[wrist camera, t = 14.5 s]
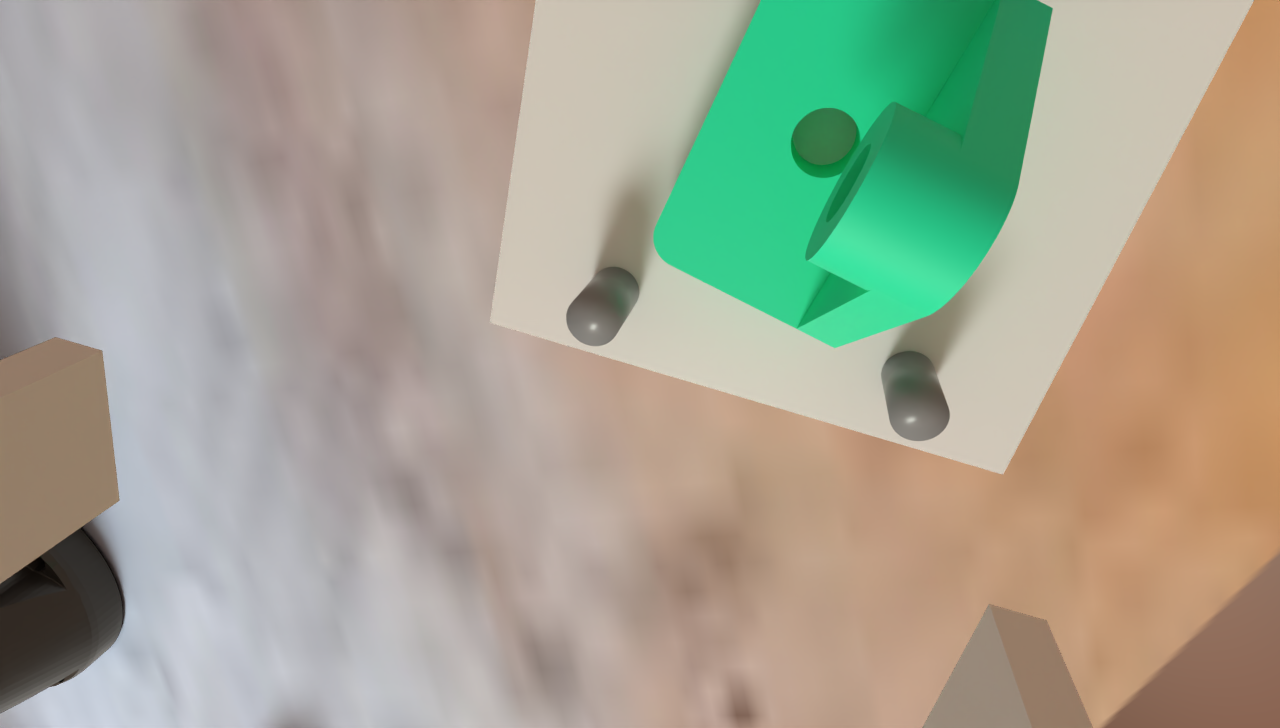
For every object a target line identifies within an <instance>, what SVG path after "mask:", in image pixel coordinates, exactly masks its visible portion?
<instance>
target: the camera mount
mask: <svg viewBox="0 0 1280 728" xmlns="http://www.w3.org/2000/svg"><path fill="white" fill-rule="evenodd" d="M1052 11H1053V8H1052V7H1050V6H1048V5H1046V4H1044V3H1042V2H1040V1H1038V0H761V1H760V3H759V5H758V8H757V10H756V12H755V14H754V16H753V18H752V20H751V23H750V25H749V27H748V29H747V31H746V33H745V35H744V38H743V40H742V42H741V44H740V46H739V48H738V50H737V53H736V55H735V57H734V59H733V61H732V63H731V65H730V68H729V70H728V72H727V74H726V76H725V78H724V80H723V82H722V85H721V87H720V89H719V91H718V93H717V95H716V97H715V100H714V102H713V104H712V106H711V108H710V110H709V112H708V115H707V117H706V119H705V121H704V123H703V125H702V127H701V130H700V132H699V134H698V136H697V138H696V140H695V142H694V145H693V147H692V149H691V151H690V153H689V155H688V157H687V160H686V162H685V164H684V166H683V168H682V170H681V172H680V175H679V177H678V179H677V181H676V183H675V185H674V187H673V190H672V192H671V194H670V196H669V198H668V200H667V202H666V205H665V207H664V209H663V211H662V213H661V215H660V217H659V220H658V222H657V224H656V226H655V229H654V234H653V241H654V246H655V249H656V251H657V253H658V255H659V256H660V257H661V258H662V260H664V261H665V262H666V263H667V264H669V265H671V266H673V267H675V268H677V269H679V270H681V271H683V272H685V273H687V274H689V275H690V276H692V277H694V278H696V279H698V280H700V281H702V282H704V283H706V284H708V285H710V286H712V287H714V288H716V289H718V290H720V291H722V292H724V293H726V294H728V295H730V296H732V297H734V298H736V299H738V300H740V301H742V302H744V303H746V304H748V305H750V306H752V307H754V308H756V309H758V310H760V311H762V312H764V313H766V314H768V315H770V316H772V317H774V318H776V319H778V320H780V321H782V322H784V323H786V324H788V325H790V326H792V327H794V328H796V329H798V330H800V331H802V332H804V333H806V334H808V335H810V336H812V337H813V338H815V339H817V340H819V341H821V342H823V343H825V344H827V345H829V346H831V347H833V348H837V347H840V346H843V345H845V344H848V343H851V342H854V341H857V340H860V339H863V338H866V337H869V336H871V335H874V334H877V333H880V332H883V331H886V330H889V329H892V328H895V327H897V326H900V325H903V324H906V323H909V322H912V321H915V320H918V319H921V318H923V317H926V316H929V315H931V314H933V313H934V312H936V311H938V310H939V309H940V308H941V307H943V306H944V305H945V304H946V303H947V302H948V301H949V300H950V299H952V298H953V297H954V296H955V294H956V293H957V292H958V291H959V290H960V289H961V288H962V287H963V286H964V284H965V283H966V282H967V281H968V279H969V278H970V277H971V276H972V274H973V273H974V272H975V270H976V269H977V268H978V266H979V265H980V263H981V262H982V260H983V259H984V257H985V256H986V254H987V253H988V251H989V250H990V248H991V247H992V245H993V243H994V241H995V240H996V238H997V236H998V234H999V233H1000V231H1001V229H1002V227H1003V225H1004V223H1005V221H1006V219H1007V217H1008V214H1009V212H1010V210H1011V207H1012V205H1013V202H1014V199H1015V196H1016V193H1017V190H1018V186H1019V181H1020V176H1021V170H1022V165H1023V160H1024V155H1025V150H1026V145H1027V140H1028V134H1029V129H1030V124H1031V119H1032V114H1033V109H1034V103H1035V98H1036V93H1037V88H1038V83H1039V78H1040V73H1041V67H1042V62H1043V57H1044V52H1045V47H1046V42H1047V37H1048V31H1049V26H1050V21H1051V16H1052ZM821 108H835V109H839V110H841V111H843V112H845V113H847V114H848V115H849V116H850V117H852V119H853V120H854V121H855V123H856V138H855V141H854V144H853V146H852V148H851V149H850V151H849V152H848V153H847V154H846V155H845V156H844V157H843V158H842V159H840V160H838V161H836V162H834V163H831V164H827V165H817V164H813V163H810V162H808V161H806V160H805V159H804V158H802V157H801V156H800V155H799V153H798V152H797V150H796V148H795V146H794V143H793V136H792V134H793V131H794V129H795V127H796V126H797V124H798V123H799V122H800V120H801V119H802V118H803V117H805V116H806V115H807V114H809V113H810V112H812V111H815V110H817V109H821Z"/></svg>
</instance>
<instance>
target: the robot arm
mask: <svg viewBox="0 0 1280 728" xmlns="http://www.w3.org/2000/svg"><path fill="white" fill-rule="evenodd" d="M118 501H119V492H118V483H117V474H116V466H115V457H114V448H113V440H112V431H111V422H110V414H109V405H108V396H107V388H106V379H105V370H104V362H103V353H102V350H98V349H95V348H91V347H88V346H84V345H81V344H77V343H74V342H70V341H67V340H63V339H60V338H56V337H55V338H53V339H50V340H48V341H45V342H43V343H40V344H38V345H36V346H33V347H31V348H28V349H26V350H24V351H21V352H19V353H16V354H14V355H12V356H9V357H7V358H4V359H2V360H0V713H2V712H4V711H6V710H8V709H10V708H12V707H14V706H16V705H18V704H20V703H21V702H23V701H25V700H27V699H29V698H31V697H32V696H34V695H36V694H38V693H40V692H41V691H43V690H45V689H47V688H48V687H52V686H56V685H59V684H61V683H63V682H65V681H68V680H70V679H72V678H74V677H75V676H77V675H78V674H80V673H81V672H83V671H84V670H85V669H86V668H87V667H89V666H90V665H91V664H92V663H93V662H94V661H95V660H96V659H98V658H99V657H100V656H101V655H102V654H103V653H104V652H106V651H107V650H108V649H109V648H110V647H111V646H112V645H113V644H114V642H115V641H116V639H117V637H118V636H119V633H120V630H121V626H122V620H123V610H122V602H121V597H120V593H119V590H118V587H117V584H116V581H115V579H114V577H113V575H112V572H111V570H110V569H109V567H108V565H107V563H106V561H105V560H104V558H103V557H102V555H101V554H100V552H99V551H98V549H97V548H96V547H95V545H94V544H93V543H92V541H91V540H90V539H89V538H88V537H87V535H86V534H85V533H84V532H83V531H82V530H81V529H80V528H81V527H82V526H84V525H85V524H86V523H88V522H89V521H91V520H92V519H94V518H95V517H96V516H98V515H99V514H101V513H102V512H104V511H105V510H106V509H108V508H109V507H111V506H112V505H114V504H115V503H117V502H118ZM922 728H1093V726H1092V724H1091V722H1090V719H1089V717H1088V715H1087V713H1086V710H1085V708H1084V706H1083V703H1082V701H1081V699H1080V696H1079V694H1078V692H1077V690H1076V687H1075V685H1074V683H1073V680H1072V678H1071V676H1070V673H1069V671H1068V669H1067V666H1066V664H1065V662H1064V660H1063V657H1062V655H1061V653H1060V650H1059V648H1058V646H1057V643H1056V641H1055V639H1054V637H1053V634H1052V632H1051V630H1050V627H1049V625H1048V623H1047V620H1043V619H1040V618H1036V617H1033V616H1029V615H1026V614H1022V613H1019V612H1015V611H1012V610H1008V609H1005V608H1001V607H998V606H994V605H991V604H989V605H988V607H987V609H986V611H985V613H984V615H983V616H982V618H981V620H980V622H979V624H978V626H977V628H976V629H975V631H974V633H973V635H972V637H971V639H970V640H969V642H968V644H967V646H966V648H965V650H964V652H963V653H962V655H961V657H960V659H959V661H958V663H957V664H956V666H955V668H954V670H953V672H952V674H951V676H950V677H949V679H948V681H947V683H946V685H945V687H944V688H943V690H942V692H941V694H940V696H939V698H938V700H937V701H936V703H935V705H934V707H933V709H932V711H931V713H930V714H929V716H928V718H927V720H926V722H925V724H924V725H923V727H922Z"/></svg>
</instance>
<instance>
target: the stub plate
mask: <svg viewBox="0 0 1280 728" xmlns="http://www.w3.org/2000/svg"><path fill="white" fill-rule="evenodd" d="M760 1H761V0H536V3H535V10H534V17H533V24H532V31H531V38H530V45H529V52H528V59H527V66H526V73H525V80H524V87H523V94H522V101H521V108H520V115H519V122H518V129H517V136H516V143H515V150H514V157H513V164H512V171H511V178H510V185H509V192H508V199H507V206H506V213H505V220H504V227H503V234H502V241H501V248H500V255H499V262H498V269H497V276H496V283H495V290H494V297H493V304H492V311H491V318H490V323H492V324H496V325H499V326H502V327H506V328H509V329H513V330H516V331H519V332H523V333H526V334H530V335H533V336H536V337H540V338H543V339H546V340H550V341H553V342H557V343H560V344H563V345H567V346H570V347H573V348H577V349H580V350H584V351H587V352H590V353H594V354H597V355H601V356H604V357H607V358H611V359H614V360H617V361H621V362H624V363H628V364H631V365H634V366H638V367H641V368H644V369H648V370H651V371H655V372H658V373H661V374H665V375H668V376H672V377H675V378H678V379H682V380H685V381H688V382H692V383H695V384H699V385H702V386H705V387H709V388H712V389H715V390H719V391H722V392H726V393H729V394H732V395H736V396H739V397H743V398H746V399H749V400H753V401H756V402H759V403H763V404H766V405H770V406H773V407H776V408H780V409H783V410H786V411H790V412H793V413H797V414H800V415H803V416H807V417H810V418H814V419H817V420H820V421H824V422H827V423H830V424H834V425H837V426H841V427H844V428H847V429H851V430H854V431H857V432H861V433H864V434H868V435H871V436H874V437H878V438H881V439H885V440H888V441H891V442H895V443H898V444H901V445H905V446H908V447H912V448H915V449H918V450H922V451H925V452H928V453H932V454H935V455H939V456H942V457H945V458H949V459H952V460H956V461H959V462H962V463H966V464H969V465H972V466H976V467H979V468H983V469H986V470H989V471H993V472H996V473H999V474H1003V473H1004V472H1005V470H1006V468H1007V466H1008V464H1009V462H1010V460H1011V458H1012V456H1013V455H1014V453H1015V451H1016V449H1017V447H1018V445H1019V443H1020V441H1021V439H1022V438H1023V436H1024V434H1025V432H1026V430H1027V428H1028V426H1029V424H1030V422H1031V421H1032V419H1033V417H1034V415H1035V413H1036V411H1037V409H1038V407H1039V405H1040V404H1041V402H1042V400H1043V398H1044V396H1045V394H1046V392H1047V390H1048V388H1049V387H1050V385H1051V383H1052V381H1053V379H1054V377H1055V375H1056V373H1057V371H1058V370H1059V368H1060V366H1061V364H1062V362H1063V360H1064V358H1065V356H1066V354H1067V353H1068V351H1069V349H1070V347H1071V345H1072V343H1073V341H1074V339H1075V337H1076V336H1077V334H1078V332H1079V330H1080V328H1081V326H1082V324H1083V322H1084V320H1085V319H1086V317H1087V315H1088V313H1089V311H1090V309H1091V307H1092V305H1093V303H1094V302H1095V300H1096V298H1097V296H1098V294H1099V292H1100V290H1101V288H1102V286H1103V285H1104V283H1105V281H1106V279H1107V277H1108V275H1109V273H1110V271H1111V269H1112V268H1113V266H1114V264H1115V262H1116V260H1117V258H1118V256H1119V254H1120V252H1121V251H1122V249H1123V247H1124V245H1125V243H1126V241H1127V239H1128V237H1129V235H1130V234H1131V232H1132V230H1133V228H1134V226H1135V224H1136V222H1137V220H1138V218H1139V217H1140V215H1141V213H1142V211H1143V209H1144V207H1145V205H1146V203H1147V201H1148V200H1149V198H1150V196H1151V194H1152V192H1153V190H1154V188H1155V186H1156V184H1157V183H1158V181H1159V179H1160V177H1161V175H1162V173H1163V171H1164V169H1165V167H1166V166H1167V164H1168V162H1169V160H1170V158H1171V156H1172V154H1173V152H1174V150H1175V149H1176V147H1177V145H1178V143H1179V141H1180V139H1181V137H1182V135H1183V133H1184V132H1185V130H1186V128H1187V126H1188V124H1189V122H1190V120H1191V118H1192V116H1193V115H1194V113H1195V111H1196V109H1197V107H1198V105H1199V103H1200V101H1201V99H1202V98H1203V96H1204V94H1205V92H1206V90H1207V88H1208V86H1209V84H1210V82H1211V81H1212V79H1213V77H1214V75H1215V73H1216V71H1217V69H1218V67H1219V65H1220V64H1221V62H1222V60H1223V58H1224V56H1225V54H1226V52H1227V50H1228V48H1229V47H1230V45H1231V43H1232V41H1233V39H1234V37H1235V35H1236V33H1237V31H1238V30H1239V28H1240V26H1241V24H1242V22H1243V20H1244V18H1245V16H1246V14H1247V13H1248V11H1249V9H1250V7H1251V5H1252V3H1253V1H1254V0H1038V1H1040V2H1042V3H1044V4H1046V5H1048V6H1050V7H1052V8H1053V11H1052V16H1051V21H1050V26H1049V31H1048V37H1047V42H1046V47H1045V52H1044V57H1043V62H1042V67H1041V73H1040V78H1039V83H1038V88H1037V93H1036V98H1035V103H1034V109H1033V114H1032V119H1031V124H1030V129H1029V134H1028V140H1027V145H1026V150H1025V155H1024V160H1023V165H1022V170H1021V176H1020V181H1019V186H1018V190H1017V193H1016V196H1015V199H1014V202H1013V205H1012V207H1011V210H1010V212H1009V214H1008V217H1007V219H1006V221H1005V223H1004V225H1003V227H1002V229H1001V231H1000V233H999V234H998V236H997V238H996V240H995V241H994V243H993V245H992V247H991V248H990V250H989V251H988V253H987V254H986V256H985V257H984V259H983V260H982V262H981V263H980V265H979V266H978V268H977V269H976V270H975V272H974V273H973V274H972V276H971V277H970V278H969V279H968V281H967V282H966V283H965V284H964V286H963V287H962V288H961V289H960V290H959V291H958V292H957V293H956V294H955V296H954V297H953V298H952V299H950V300H949V301H948V302H947V303H946V304H945V305H944V306H943V307H941V308H940V309H939V310H938V311H936V312H934V313H933V314H931V315H929V316H926V317H923V318H921V319H918V320H915V321H912V322H909V323H906V324H903V325H900V326H897V327H895V328H892V329H889V330H886V331H883V332H880V333H877V334H874V335H871V336H869V337H866V338H863V339H860V340H857V341H854V342H851V343H848V344H845V345H843V346H840V347H837V348H833V347H831V346H829V345H827V344H825V343H823V342H821V341H819V340H817V339H815V338H813V337H812V336H810V335H808V334H806V333H804V332H802V331H800V330H798V329H796V328H794V327H792V326H790V325H788V324H786V323H784V322H782V321H780V320H778V319H776V318H774V317H772V316H770V315H768V314H766V313H764V312H762V311H760V310H758V309H756V308H754V307H752V306H750V305H748V304H746V303H744V302H742V301H740V300H738V299H736V298H734V297H732V296H730V295H728V294H726V293H724V292H722V291H720V290H718V289H716V288H714V287H712V286H710V285H708V284H706V283H704V282H702V281H700V280H698V279H696V278H694V277H692V276H690V275H689V274H687V273H685V272H683V271H681V270H679V269H677V268H675V267H673V266H671V265H669V264H667V263H666V262H665V261H664V260H662V258H661V257H660V256H659V255H658V253H657V251H656V249H655V246H654V241H653V234H654V229H655V226H656V224H657V222H658V220H659V217H660V215H661V213H662V211H663V209H664V207H665V205H666V202H667V200H668V198H669V196H670V194H671V192H672V190H673V187H674V185H675V183H676V181H677V179H678V177H679V175H680V172H681V170H682V168H683V166H684V164H685V162H686V160H687V157H688V155H689V153H690V151H691V149H692V147H693V145H694V142H695V140H696V138H697V136H698V134H699V132H700V130H701V127H702V125H703V123H704V121H705V119H706V117H707V115H708V112H709V110H710V108H711V106H712V104H713V102H714V100H715V97H716V95H717V93H718V91H719V89H720V87H721V85H722V82H723V80H724V78H725V76H726V74H727V72H728V70H729V68H730V65H731V63H732V61H733V59H734V57H735V55H736V53H737V50H738V48H739V46H740V44H741V42H742V40H743V38H744V35H745V33H746V31H747V29H748V27H749V25H750V23H751V20H752V18H753V16H754V14H755V12H756V10H757V8H758V5H759V3H760ZM792 136H793V143H794V146H795V148H796V150H797V152H798V153H799V155H800V156H801V157H802V158H804V159H805V160H806V161H808V162H810V163H813V164H817V165H827V164H831V163H834V162H836V161H838V160H840V159H842V158H843V157H844V156H845V155H846V154H847V153H848V152H849V151H850V149H851V148H852V146H853V144H854V141H855V138H856V123H855V121H854V120H853V119H852V117H850V116H849V115H848V114H847V113H845V112H843V111H841V110H839V109H835V108H821V109H817V110H815V111H812V112H810V113H809V114H807V115H806V116H805V117H803V118H802V119H801V120H800V122H799V123H798V124H797V126H796V127H795V129H794V131H793V134H792Z"/></svg>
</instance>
